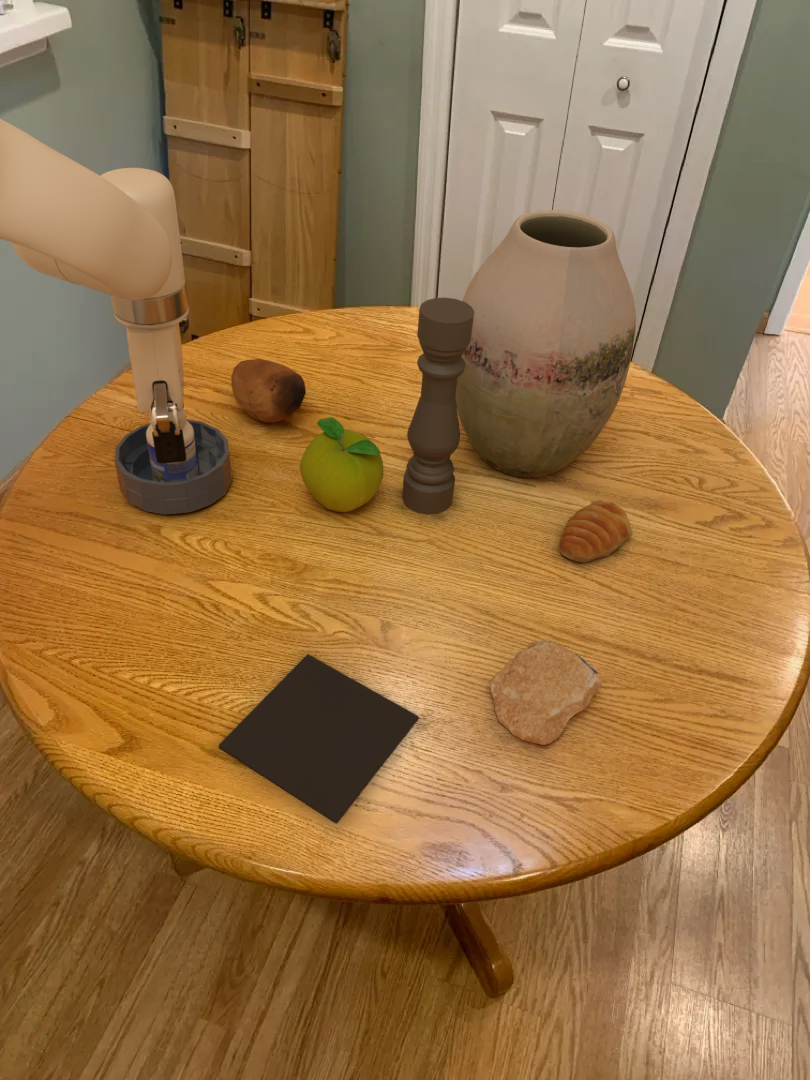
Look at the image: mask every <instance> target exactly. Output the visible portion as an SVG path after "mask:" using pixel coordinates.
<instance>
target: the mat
mask: <svg viewBox="0 0 810 1080" xmlns="http://www.w3.org/2000/svg"><path fill="white" fill-rule="evenodd" d="M418 720H419V715H417V714H416V713H414V712H412V711H410V710H409V709H407V708H405V707H403V706H402V705H399V704H398V703H397V702H394V701H393V700H391V699H389V698H387V697H386V696H384V695H382V694H380V693H378V692H376V691H374V690H373V689H372V688H369V687H367V686H365V685H364V684H363V683H361V682H359V681H357V680H355V679H354V678H351V677H350V676H347V675H346V674H344V673H342V672H341V671H339V670H338V669H336V668H333V667H332V666H330V665H329V664H326V663H325V662H323V661H321V660H319V659H318V658H316V657H314V656H312V655H310V654H309V653H307V654H306V655H305V656H304V657H303V658H302V659H301V660H300V661H299V662H298V663H297V664H296V665H295V666H294V667H293V668H292V669H291V670H290V671H289V672H288V673H287V675H285V677H283V678H282V679H281V680H280V682H279V683H278V684H277V685H275V687H274V688H273V689H272V690H271V691H270V692H269V693H267V695H265V697H264V698H263V699H262V700H261V701H260V702H259V703H258V704H257V705H256V706H255V707H254V708H253V709H252V710H251V711H250V712H249V713H248V714H247V715H246V716H245V717H244V718H243V719H242V720H241V721H240V723H238V724H237V725H236V726H235V728H234V729H232V730H231V732H230V733H229V734H228V735H227V736H226V737H224V739H223V740H222V741H221V742H220V743H219V744H218V749H219V750H221V751H222V752H224V753H226V754H227V755H229V756H230V757H232V758H234V759H235V760H236V761H238V762H240V763H241V764H243V765H244V766H246V767H247V768H249V769H251V770H252V771H254V772H255V773H257V774H258V775H259V776H261V777H263V778H265V779H266V780H268V781H269V782H271V783H272V784H274V785H275V786H277V787H278V788H280V789H281V790H283V791H284V792H286V793H288V794H289V795H290V796H292V797H294V798H296V799H297V800H298V801H300V802H302V803H303V804H305V805H306V806H308V807H309V808H311V809H312V810H314V811H316V812H317V813H319V814H320V815H322V816H323V817H325V818H327V819H328V820H330V821H331V822H333V823H335V824H336V825H337V824H338V823H339V822H340V820H341V819H342V818H343V816H344V815H345V814H346V812H347V811H348V810H349V809H350V807H351V806H352V805H353V804H354V802H356V800H357V799H358V798H359V796H360V794H361V793H362V792H363V791H364V790H365V788H366V787H367V786H368V784H369V783H370V782H371V780H372V779H373V778H374V777H375V775H376V774H377V773H378V772H379V770H380V769H381V768H382V767H383V765H384V764H385V763H386V761H387V760H388V758H390V756H391V755H392V754H393V752H394V751H395V750H396V749H397V747H398V746H399V745H400V743H401V742H402V741H403V740H404V738H405V737H406V736H407V734H408V733H410V731H411V729H412V728H413V727H414V726H415V724H416V723H417V722H418Z"/></svg>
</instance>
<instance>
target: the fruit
mask: <svg viewBox="0 0 810 1080" xmlns="http://www.w3.org/2000/svg"><path fill="white" fill-rule="evenodd" d="M316 424H317V426H318V427H319V428H320V429H321V430H322V431H323V432H321V433H319V434H318V435H316V436H315V437H314V438H313V439H312V440H311V441H310V443H309V444H308V445H307V447H306V449H305V451H304V452H303V453H302V456H301V459H300V464H299V469H300V470H299V471H300V477H301V479H302V482H303V484H304V486H305V488H306V489H307V491H308V492H309V494H310V495H311V496H312V497H313V498H314V500H316V501H317V502H318V503H319V504H320V505H322V506H323V507H324V508H326V509H328V510H330V511H333V512H338V513H339V512H340V513H348V512H351V511H355V510H356V509H358V508H360V507H362V506H363V505H365V504H367V503H368V502H369V501H371V500H372V498H374V496H375V495H376V494H377V493H378V490H379V489H380V487H381V484H382V481H383V477H384V462H383V458H382V455H381V451H380V449H379V448H378V446H377V445H376V444H375V442H373V441H371V439H369V438H368V437H367V436H366V435H365V434H364V433H361V432H360V433H359V432H356V431H353V430H351V429H347V428H344V425H342V423H341V422H340V421H339V420H338V419H337V418H335V417H331V416H330V417H324V418H320V419H319V420H317V422H316Z"/></svg>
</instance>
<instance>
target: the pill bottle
mask: <svg viewBox="0 0 810 1080" xmlns="http://www.w3.org/2000/svg"><path fill="white" fill-rule="evenodd" d="M172 405H173V403H168V406H172ZM169 418H170V421H172V422H173V424H174V421H173V412H169ZM178 418H179V427H180V430H181V429H182V430H183V437H184V444H185V451H186V461H184V462H172V463H158V462H157V459H156V453H155V448H154V442H153V436H152V432H153V424H152V415H151V410H150V411H149V423H151V424H150V426H149V427H148V429H147V431H146V437H147V444H148V450H149V456H150V463H151V469H152V475H153V480H154V481H158V482H172V481H184V480H187V479H190V478H193V477H196V476H199V474H198V465H197V457H196V447H195V438H194V430H193V427H192V425H191V424H190V423H189V422H188V421H187V419H188V417H187V413H186V409H185V407H184V408H182V409H181V410H180V411H178Z"/></svg>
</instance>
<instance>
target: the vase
mask: <svg viewBox="0 0 810 1080" xmlns="http://www.w3.org/2000/svg"><path fill="white" fill-rule="evenodd" d="M462 301H463V302H466V303H467V304H468V305H470V306H471V307H472V308H473V310H474V319H473V327H472V335H471V341H470V344H469V345H468V346H467V349H466V351H465V352H464V353H463V354H462V358H463V359H464V361H465V364H466V365H465V369H464V372H463V373H462V374H461V375H460V376H459V377H458V378H457V387H456V395H455V399H456V406H457V413H458V419H459V420H460V423H461V426H462V429H463V431H464V433H465V434H466V437H467V438H468V441H469V442H470V444H471V446H472V447H473V449H474V450H475V452H476V453H477V454H478V455H479V456H480V457H481V459H482V460H483V461H484V462H485V463H486V464H488V465H489V466H491V467H492V468H493V469H495V470H497V471H498V472H500V473H504V474H506V475H509V476H510V475H511V476H513V477H516V478H525V479H526V478H531V479H536V478H540V477H541V478H542V477H546V476H550V475H552V474H554V473H555V474H556V473H557V472H559V471H561V470H563V469H564V468H566V467H567V466H569V465H570V464H572V463H573V462H574V461H576V460H577V459H578V458H579V457H581V455H583V454H584V453H586V451H587V450H589V448H590V447H591V446H592V444H593V443H594V442H595V440H596V439H597V438H598V437H599V435H601V433H602V431H603V430H604V428H605V427H606V426H607V424H608V422H609V421H610V419H611V417H612V415H613V414H614V412H615V409H616V408H617V406H618V403H619V401H620V399H621V395H622V393H623V390H624V388H625V384H626V380H627V377H628V374H629V371H630V370H629V369H630V365H631V361H632V356H633V350H634V341H635V336H636V328H637V311H636V305H635V299H634V295H633V291H632V288H631V285H630V283H629V280H628V276H627V275H626V272H625V269H624V267H623V265H622V262H621V259H620V256H619V254H618V249H617V242H616V235H615V233H614V231H613V229H612V228H611V227H610V226H608V225H607V224H606V223H604V222H603V221H601V220H599V219H597V218H595V217H593V216H590V215H587V214H583V213H579V212H575V211H569V210H560V209H541V210H534V211H530V212H527V213H524V214H521V215H520V216H518V217H517V218H516V219H515V220H514V222H513V223H512V225H511V227H510V228H509V231H508V232H507V234H506V235H505V237H504V238H503V239H502V240H501V242H500V243H499V244H498V245H497V246H496V247H495V249H494V250H493V251H492V252H491V253H490V254H489V256H488V257H487V258H486V259H485V261H484V262H483V263H482V264H481V265H480V266H479V268H478V270H477V271H476V272H475V274H474V275H473V277H472V278H471V280H470V282H469V284H468V286H467V287H466V290H465V292H464V294H463V297H462Z"/></svg>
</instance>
